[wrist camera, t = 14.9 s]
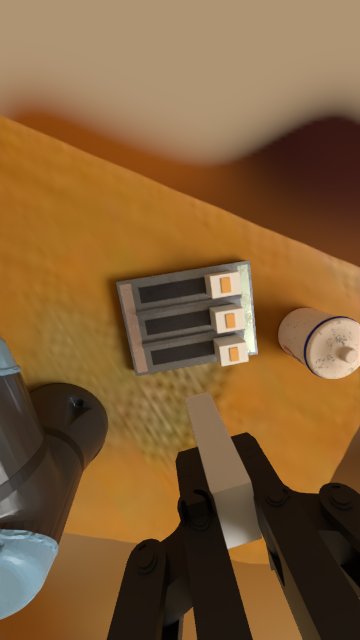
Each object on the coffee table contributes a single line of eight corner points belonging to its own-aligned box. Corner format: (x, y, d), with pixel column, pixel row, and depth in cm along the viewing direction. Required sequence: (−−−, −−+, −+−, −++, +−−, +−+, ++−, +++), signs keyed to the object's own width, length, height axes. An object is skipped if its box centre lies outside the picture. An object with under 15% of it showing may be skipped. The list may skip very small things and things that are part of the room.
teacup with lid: (268, 350, 44) (307, 381, 32) (286, 299, 42) (335, 313, 31) (328, 365, 46) (386, 399, 34) (348, 317, 44) (416, 336, 32)
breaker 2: (211, 326, 39) (218, 334, 35) (209, 307, 39) (215, 313, 35) (236, 322, 40) (245, 328, 36) (234, 303, 39) (243, 308, 35)
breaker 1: (206, 294, 38) (213, 298, 34) (204, 274, 38) (210, 276, 33) (232, 290, 38) (241, 294, 34) (230, 270, 38) (239, 271, 34)
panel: (136, 371, 42) (135, 378, 39) (117, 281, 39) (115, 282, 36) (253, 349, 43) (259, 355, 41) (245, 260, 40) (251, 260, 37)
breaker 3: (215, 356, 41) (222, 366, 37) (213, 338, 40) (219, 347, 36) (239, 351, 41) (249, 361, 37) (237, 334, 40) (247, 342, 36)
